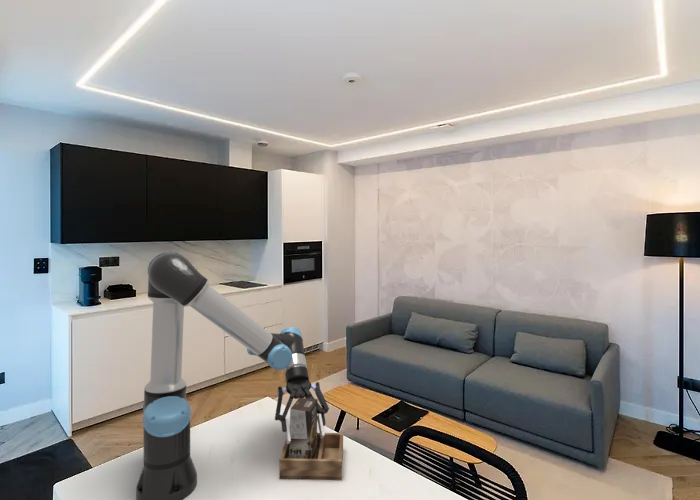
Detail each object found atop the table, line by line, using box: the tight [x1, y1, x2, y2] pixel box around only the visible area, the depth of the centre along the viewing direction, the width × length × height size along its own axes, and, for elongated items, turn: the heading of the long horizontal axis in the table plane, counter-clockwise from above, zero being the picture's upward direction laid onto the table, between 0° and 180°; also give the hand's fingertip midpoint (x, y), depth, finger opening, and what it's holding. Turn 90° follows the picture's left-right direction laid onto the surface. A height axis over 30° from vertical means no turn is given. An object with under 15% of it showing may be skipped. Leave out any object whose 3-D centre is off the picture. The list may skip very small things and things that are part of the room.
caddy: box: [278, 432, 344, 481], centre depth 118 cm, size 18×16×6 cm
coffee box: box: [289, 397, 319, 459], centre depth 118 cm, size 9×6×16 cm
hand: (306, 439), depth 115 cm, fingers closed on coffee box, 10 cm apart
